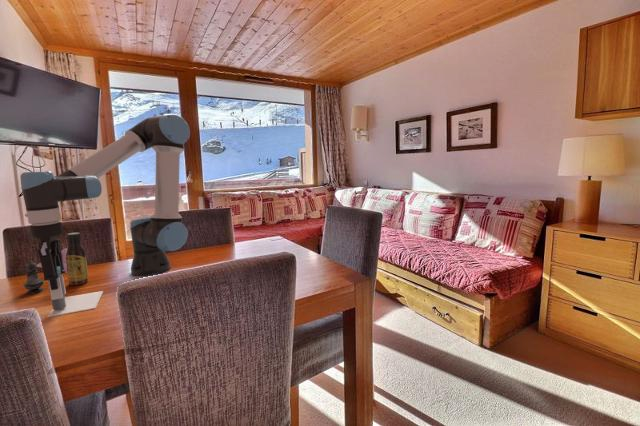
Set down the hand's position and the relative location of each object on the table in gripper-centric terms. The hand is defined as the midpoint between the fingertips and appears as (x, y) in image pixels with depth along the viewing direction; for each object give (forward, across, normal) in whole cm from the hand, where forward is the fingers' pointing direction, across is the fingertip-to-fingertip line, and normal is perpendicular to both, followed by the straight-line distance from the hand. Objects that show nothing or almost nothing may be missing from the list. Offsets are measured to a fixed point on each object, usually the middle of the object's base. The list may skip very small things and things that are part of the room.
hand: (59, 296), depth 100 cm
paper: (+5, -4, +4) cm, 7 cm away
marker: (+4, 0, 0) cm, 4 cm away
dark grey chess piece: (+5, -26, -13) cm, 29 cm away
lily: (+5, -49, -12) cm, 50 cm away
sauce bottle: (+5, -28, 0) cm, 28 cm away
